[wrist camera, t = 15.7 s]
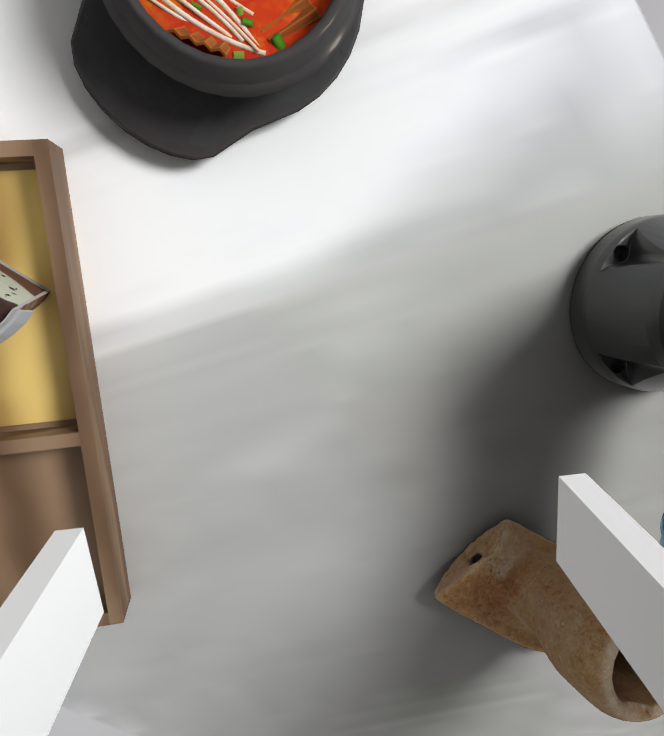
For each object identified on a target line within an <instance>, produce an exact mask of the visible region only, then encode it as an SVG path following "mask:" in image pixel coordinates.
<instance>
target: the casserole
mask: <svg viewBox="0 0 664 736" xmlns="http://www.w3.org/2000/svg"><path fill="white" fill-rule="evenodd" d="M363 3H364V0H82V3H81V7H80V10H79V14H78V17H77V21H76V25H75V28H74V32H73V35H72V39H71V46H72V53H73V60H74V66H75V68H76V70H77V72H78V74H79V76H80V78H81V80H82V82H83V84H84V86H85V88H86V89H87V91H88V92H89V93H90V95H91V96H92V97H93V99H94V100H95V101H96V102H97V104H98V105H99V106H100V108H101V109H102V110H103V111H104V112H105V113H106V114H107V115H108V116H109V117H110V118H111V119H112V120H113V121H114V122H115V123H116V124H117V125H118V126H120V127H121V128H122V129H123V130H124V131H125V132H127V133H129V134H130V135H132V136H133V137H135V138H136V139H138V140H139V141H141V142H142V143H144V144H145V145H147V146H149V147H152V148H154V149H156V150H159V151H161V152H163V153H166V154H168V155H170V156H174V157H180V158H185V159H190V160H197V159H204V158H210V157H214V156H216V155H217V154H219V153H220V152H222V151H223V150H225V149H226V148H228V147H229V146H231V145H232V144H234V143H235V142H237V141H238V140H239V139H241V138H242V137H244V136H245V135H247V134H248V133H250V132H251V131H253V130H255V129H257V128H260V127H262V126H265V125H267V124H269V123H272V122H274V121H277V120H279V119H281V118H284V117H286V116H288V115H291V114H293V113H296V112H298V111H300V110H301V109H303V108H304V107H305V106H307V105H308V104H310V103H311V102H312V101H314V100H315V99H317V98H318V97H319V96H320V95H321V94H322V93H323V92H324V91H325V90H326V89H327V88H328V87H329V86H330V85H331V83H332V82H333V81H334V80H335V79H336V78H337V76H338V75H339V73H340V71H341V70H342V68H343V66H344V65H345V63H346V61H347V60H348V58H349V56H350V54H351V52H352V49H353V46H354V43H355V41H356V38H357V35H358V32H359V28H360V22H361V16H362V10H363Z"/></svg>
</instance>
